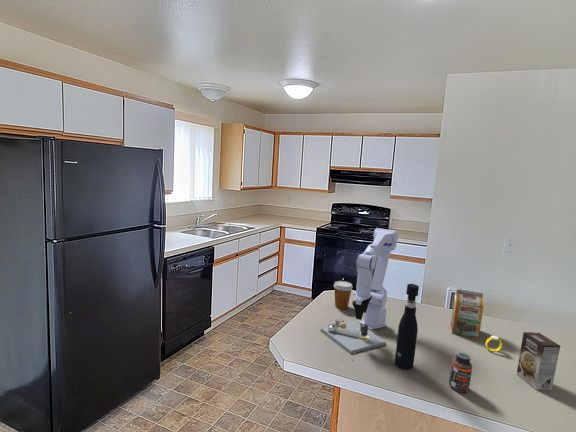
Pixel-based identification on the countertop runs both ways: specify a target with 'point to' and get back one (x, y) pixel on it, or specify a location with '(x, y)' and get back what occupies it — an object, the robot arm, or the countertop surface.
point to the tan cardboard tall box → (467, 313)
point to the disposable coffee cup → (342, 294)
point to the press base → (353, 338)
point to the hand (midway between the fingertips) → (361, 315)
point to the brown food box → (538, 360)
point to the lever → (350, 331)
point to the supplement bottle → (460, 373)
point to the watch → (493, 339)
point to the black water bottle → (407, 332)
